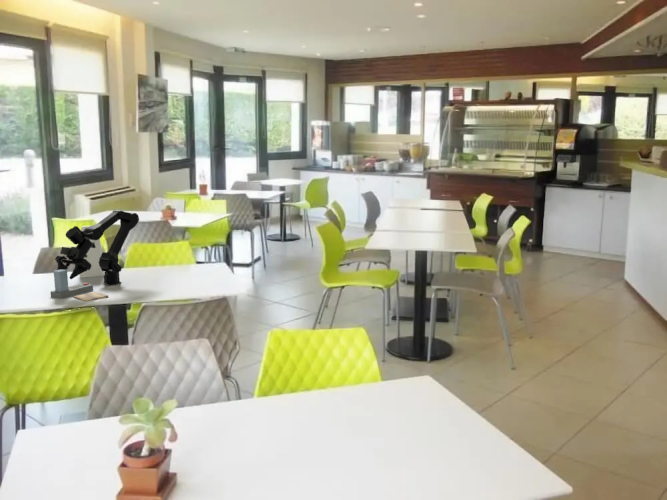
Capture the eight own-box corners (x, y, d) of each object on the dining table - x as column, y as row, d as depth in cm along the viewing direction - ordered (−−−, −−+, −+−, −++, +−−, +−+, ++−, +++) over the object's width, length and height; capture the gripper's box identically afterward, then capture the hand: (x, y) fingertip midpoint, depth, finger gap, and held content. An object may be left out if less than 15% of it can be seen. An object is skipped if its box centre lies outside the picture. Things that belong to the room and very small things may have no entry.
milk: (103, 271, 347) (100, 223, 342) (104, 275, 336) (100, 227, 332) (80, 273, 343) (76, 225, 338) (79, 277, 332) (75, 228, 327)
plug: (63, 294, 296) (61, 269, 294) (69, 295, 294) (66, 270, 292) (55, 296, 293) (53, 270, 291) (61, 297, 291) (59, 271, 289)
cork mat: (95, 293, 299) (95, 291, 299) (108, 297, 292) (108, 295, 292) (73, 298, 291) (73, 296, 291) (85, 302, 284) (85, 300, 284)
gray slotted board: (83, 289, 308) (82, 282, 307) (93, 290, 305) (92, 283, 304) (51, 297, 292) (50, 290, 292) (61, 299, 289) (60, 292, 288)
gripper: (56, 238, 299) (38, 265, 292) (84, 241, 291) (66, 269, 283) (72, 252, 307) (54, 279, 300) (99, 255, 299) (81, 283, 291)
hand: (63, 277), depth 293 cm, fingers open, 9 cm apart
